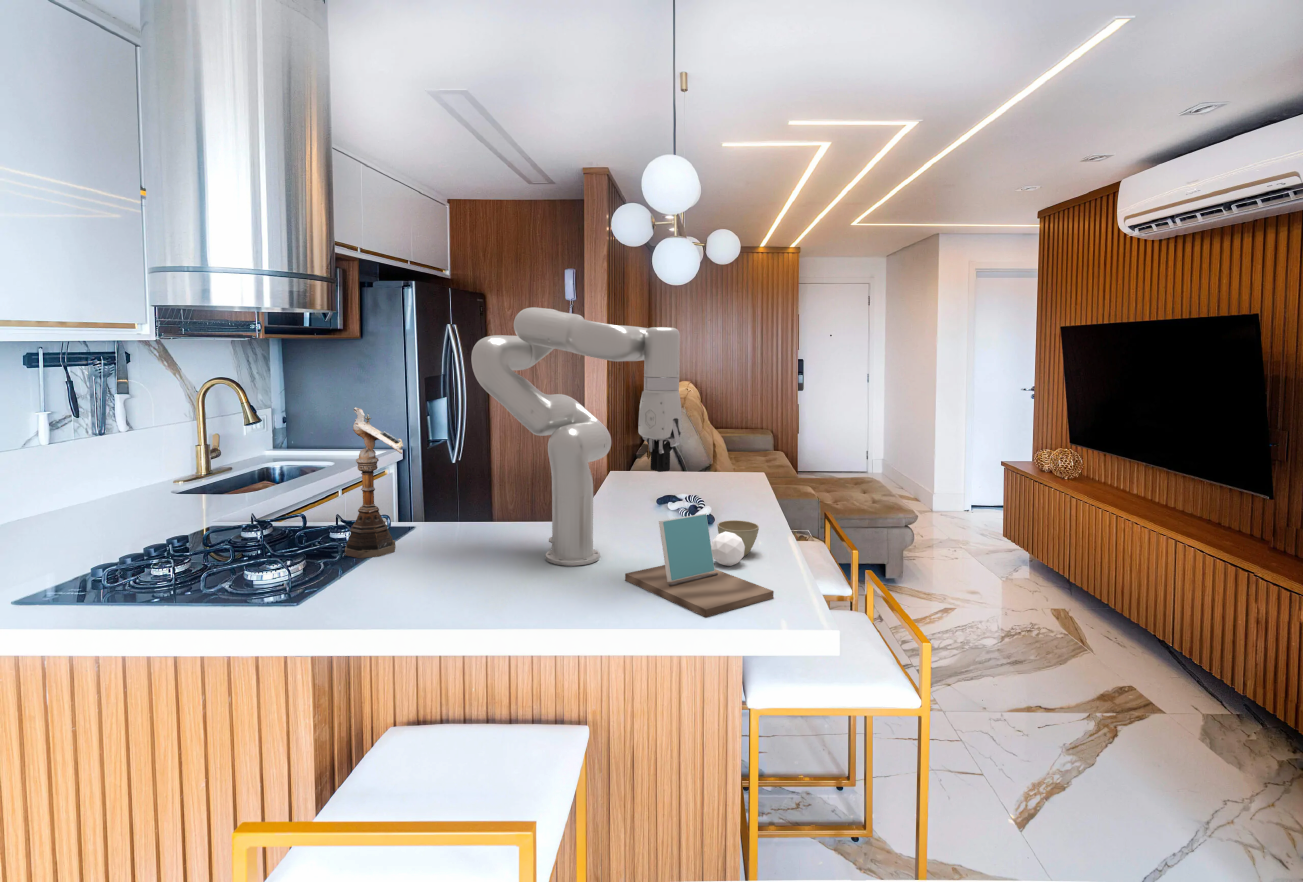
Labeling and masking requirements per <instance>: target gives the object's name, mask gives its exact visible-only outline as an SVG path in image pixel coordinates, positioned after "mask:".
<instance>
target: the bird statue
mask: <svg viewBox="0 0 1303 882" xmlns="http://www.w3.org/2000/svg"><path fill="white" fill-rule="evenodd" d="M353 412H354V413H355V414H356V418H355V419H354V422H353V423H354V424H352V425H353V426H352V431H353V432H354V433H355V434H356V435H357V436H358V437H360V438H362V439H363V444H364V446H365V448H362V449H361V450H360V451H359V453H358V458H356V459H355V463H357V470H358V471H359V472H361V473H360V474H361V481H362V483H361V484H362V485H361V486H362V487H361V489H360V491H362V505H361V506H360V507H359V508H358V509H357V512H358V514H357V517H356V519H355V522H354V523H353V524H352V526H351V528H350V530H349V532H350V534H349V537H348V540H347V542H346V546H345V548H344V555H345V556H346V557H347V556H348V557H353V558H357V559H364V558H377V557H379V558H380V557H384V556H385V555H389V554H392V553H395V550H396V540H395V539H393V536H392V535H391V533H390V530H389V528H388V527H389V525H387V523H386V521H385V520H384V519H383V517H382V515H381V513H380V508H379V507H378V506H377V505H376V504H375V490H376V488H375V486H374V485H375V483H374V474H375V471H377V470H378V462H379V458H378V457H377V456H376V454H377V453H376V451H375V450H374V449H375V446H376V441H382V442H383V443H384V444H386V445H388V446H389V447H390V448H392V449H394V450H395V451H396V452H398V453H399V454H403V450H402V448H403V447H404V444H403V441H402V439H401V438H397V437H395V436H393V435H392V434H390V433H389V432H387V431H385V430H384V431H381V430H380V429H378V428H376V427H374V426H373V425H371V423H370V420H371V419H372V417H370V414H369V413H367V414H366V415H365V413H364V410H363V409H362V408H359V407H354V408H353ZM365 420H366V421H365ZM345 553H346V554H345Z"/></svg>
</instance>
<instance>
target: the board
mask: <svg viewBox="0 0 1303 882" xmlns="http://www.w3.org/2000/svg"><path fill="white" fill-rule="evenodd" d="M624 575H625V576H624V577H625V578H624V580H625V581H626V582H628V583H630V584H633V585H635V586H636V587H639V588H642V589H643V590H645V591H648V592H650V593H652V594H654V595H656V596H659V597H660V598H662V599H665V600H667V601H669V602H672V603H673V604H676V605H678V606H680V607H682V608H685V609H687V610H689V611H691V612H693V613H695V614H697V615H700V616H702V617H704V618H708V617H709V618H710V617H713V616H715V615H719V614H722V613H726V612H729V611H730V612H731V611H733V610H736V609H739V608H743V607H747V606H750V605H754V604H757V603H761V602H765V601H768V600H771V599H774V592H775V591H774V590H772V589H769V588H768V587H765V586H761V585H759V584H756V583H754V582H751V581H748V580H746V579H742V578H741V577H738V576H734V575H732V574H730V573H726V572H724V571H721V570H718V569H716V568H715V571H714V572H710V573H706V574H701V575H697V576H693V577H689V578H684V579H680V580H676V581H672V582H667V575H666V568H665V564H663V565H660V566H654V567H650V568H645V569H640V570H635V571H632V572H627V573H624Z"/></svg>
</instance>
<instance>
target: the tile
mask: <svg viewBox="0 0 1303 882" xmlns="http://www.w3.org/2000/svg"><path fill="white" fill-rule="evenodd" d="M658 525H659V532H660V540H661V546H662V552H663V553H662V554H663V561H664V565H665V568H666V575H667V582H672V581H676V580H680V579H684V578H689V577H693V576H697V575H701V574H706V573H710V572H714V571H715V569H716V568H715V563H714V558H713V555H712V548H711V543H712V540H711V536H710V529H709V524H708V516H707V513H700V514H694V515H687V516H682V517H677V518H676V517H675V518H669V519H663V520H658Z"/></svg>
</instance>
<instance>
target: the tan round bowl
mask: <svg viewBox="0 0 1303 882" xmlns="http://www.w3.org/2000/svg"><path fill="white" fill-rule="evenodd" d="M759 528H760V526H759V525H758V523H755V522H752V521H747V520H738V519H734V520H733V519H732V520H729V519H728V520H722V521H720V522H718V523H717V533H718V534H720V533H723V532H725V531H726V532H730V533H735V534H736V535H737V536H739V537H740V538H742V541H743V543H744V546H745V550H744V556H743V557H746V556H748V554H749V553H750V551H751V550H752V548H753V547H754V545H755V542H756V540H757V537H758V534H759Z"/></svg>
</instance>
